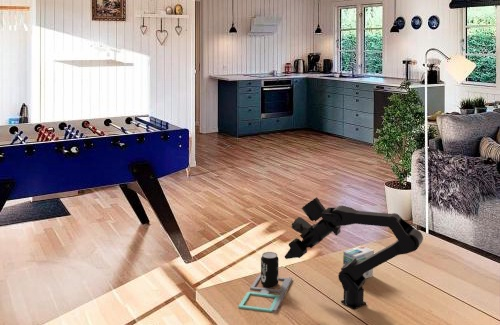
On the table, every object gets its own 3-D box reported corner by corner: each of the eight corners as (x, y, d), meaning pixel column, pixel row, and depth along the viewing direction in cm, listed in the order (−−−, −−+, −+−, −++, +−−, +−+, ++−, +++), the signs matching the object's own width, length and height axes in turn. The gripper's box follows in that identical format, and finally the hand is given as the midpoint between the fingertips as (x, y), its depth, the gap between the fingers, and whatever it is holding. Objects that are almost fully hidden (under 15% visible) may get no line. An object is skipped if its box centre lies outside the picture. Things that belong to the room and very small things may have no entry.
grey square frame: (258, 276, 217) (258, 274, 217) (288, 279, 214) (288, 278, 213) (250, 289, 205) (250, 287, 205) (281, 293, 202) (281, 291, 202)
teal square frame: (247, 292, 203) (247, 291, 202) (279, 296, 199) (279, 295, 199) (238, 307, 191) (238, 306, 191) (272, 312, 188) (272, 310, 188)
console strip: (269, 277, 215) (269, 275, 215) (292, 280, 213) (292, 277, 213) (250, 309, 190) (250, 306, 190) (276, 312, 188) (276, 310, 188)
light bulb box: (354, 283, 210) (355, 256, 208) (341, 277, 216) (342, 251, 213) (373, 276, 217) (374, 250, 214) (360, 270, 222) (361, 245, 219)
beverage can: (276, 288, 206) (277, 258, 203) (259, 287, 207) (259, 257, 204) (279, 281, 212) (279, 252, 209) (262, 280, 213) (262, 250, 211)
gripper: (316, 205, 204) (288, 228, 212) (294, 219, 188) (265, 243, 196) (335, 230, 202) (306, 252, 210) (315, 246, 186) (284, 269, 194)
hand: (290, 253), depth 203 cm, fingers open, 9 cm apart
